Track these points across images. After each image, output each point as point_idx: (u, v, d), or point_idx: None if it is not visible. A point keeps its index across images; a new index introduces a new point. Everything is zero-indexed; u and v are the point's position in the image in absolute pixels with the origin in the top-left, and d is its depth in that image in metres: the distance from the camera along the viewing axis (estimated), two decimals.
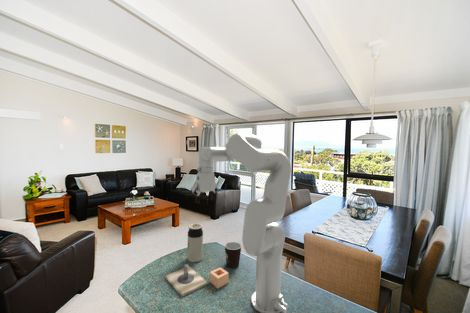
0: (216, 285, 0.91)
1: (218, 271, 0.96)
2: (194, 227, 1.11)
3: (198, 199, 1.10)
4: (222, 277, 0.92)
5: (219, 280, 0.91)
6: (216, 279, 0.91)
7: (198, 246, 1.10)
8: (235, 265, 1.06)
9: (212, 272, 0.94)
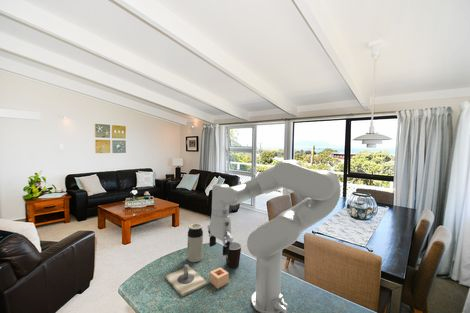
0: (216, 285, 0.91)
1: (218, 271, 0.96)
2: (193, 227, 1.11)
3: (228, 248, 0.91)
4: (222, 277, 0.92)
5: (219, 280, 0.91)
6: (216, 279, 0.91)
7: (198, 246, 1.10)
8: (235, 265, 1.06)
9: (212, 272, 0.94)
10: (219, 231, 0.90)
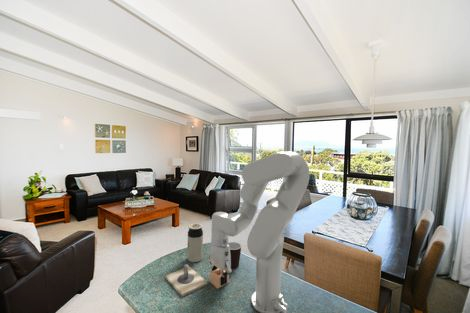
0: (216, 285, 0.91)
1: (218, 271, 0.96)
2: (194, 227, 1.11)
3: None
4: None
5: (219, 280, 0.91)
6: (216, 279, 0.91)
7: (198, 246, 1.10)
8: (235, 265, 1.06)
9: (212, 272, 0.94)
10: (219, 261, 0.90)
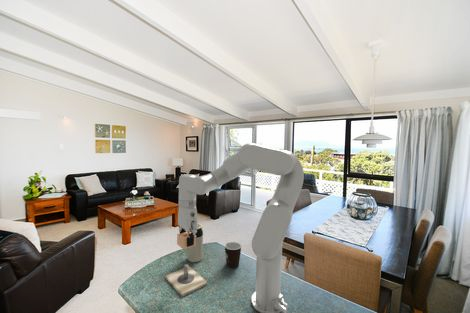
0: (182, 246, 0.90)
1: (186, 234, 0.96)
2: None
3: (193, 240, 0.92)
4: None
5: (185, 241, 0.90)
6: (182, 240, 0.90)
7: (198, 246, 1.10)
8: (235, 265, 1.06)
9: (179, 234, 0.94)
10: (185, 222, 0.90)
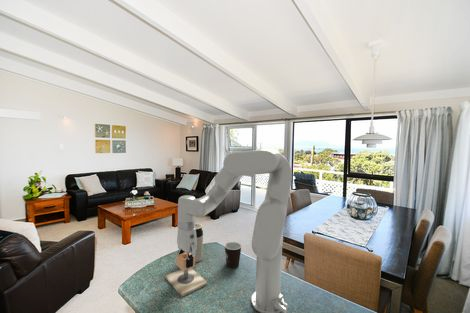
0: (181, 268, 0.91)
1: (185, 255, 0.96)
2: None
3: (192, 261, 0.92)
4: None
5: (184, 263, 0.91)
6: (181, 262, 0.91)
7: (198, 246, 1.10)
8: (235, 265, 1.06)
9: (179, 255, 0.94)
10: (184, 243, 0.90)
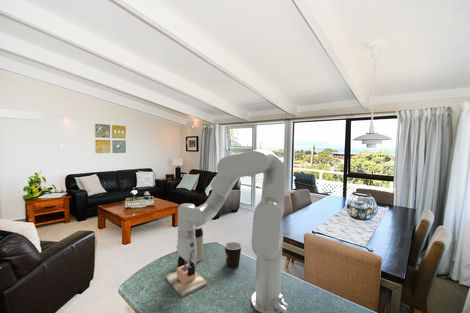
0: (182, 281, 0.91)
1: None
2: None
3: (194, 269, 0.92)
4: None
5: (185, 276, 0.91)
6: (182, 275, 0.91)
7: (198, 246, 1.10)
8: (235, 265, 1.06)
9: (179, 268, 0.94)
10: (184, 252, 0.90)
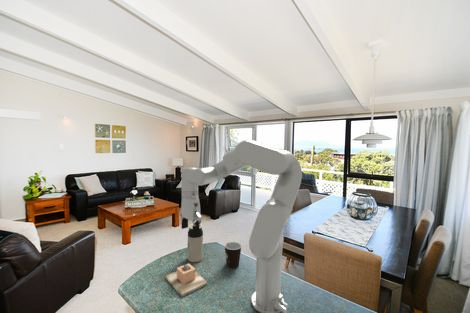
0: (182, 281, 0.91)
1: None
2: None
3: (198, 228, 0.95)
4: (188, 273, 0.92)
5: (185, 276, 0.91)
6: (182, 275, 0.91)
7: (198, 246, 1.10)
8: (235, 265, 1.06)
9: (179, 268, 0.94)
10: (188, 212, 0.94)
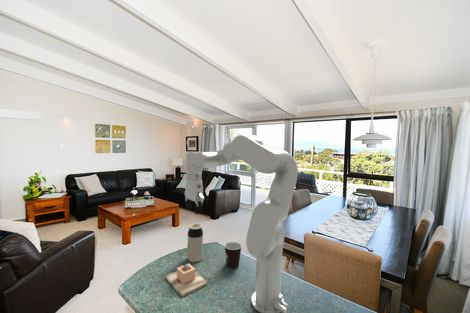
0: (182, 281, 0.91)
1: None
2: (194, 227, 1.11)
3: (201, 208, 1.01)
4: (188, 273, 0.92)
5: (185, 276, 0.91)
6: (182, 275, 0.91)
7: (198, 246, 1.10)
8: (235, 265, 1.06)
9: (179, 268, 0.94)
10: (192, 193, 1.01)
